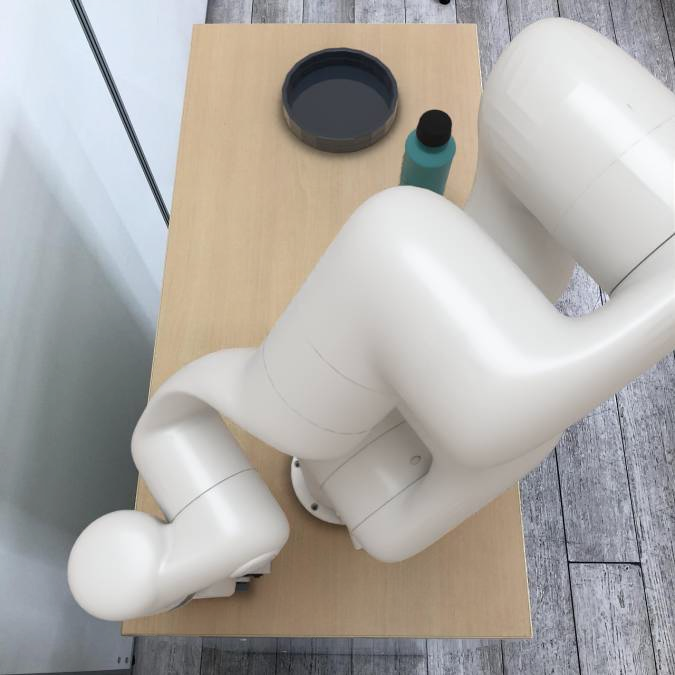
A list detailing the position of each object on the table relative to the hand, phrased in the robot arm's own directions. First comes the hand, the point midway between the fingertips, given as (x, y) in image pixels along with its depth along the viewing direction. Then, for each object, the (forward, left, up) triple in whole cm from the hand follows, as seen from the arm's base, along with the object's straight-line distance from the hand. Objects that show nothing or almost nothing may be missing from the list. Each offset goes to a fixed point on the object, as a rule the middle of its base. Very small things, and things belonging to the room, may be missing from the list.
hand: (201, 568), depth 71 cm
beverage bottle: (+34, -43, -4) cm, 55 cm away
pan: (+56, -40, -3) cm, 69 cm away
